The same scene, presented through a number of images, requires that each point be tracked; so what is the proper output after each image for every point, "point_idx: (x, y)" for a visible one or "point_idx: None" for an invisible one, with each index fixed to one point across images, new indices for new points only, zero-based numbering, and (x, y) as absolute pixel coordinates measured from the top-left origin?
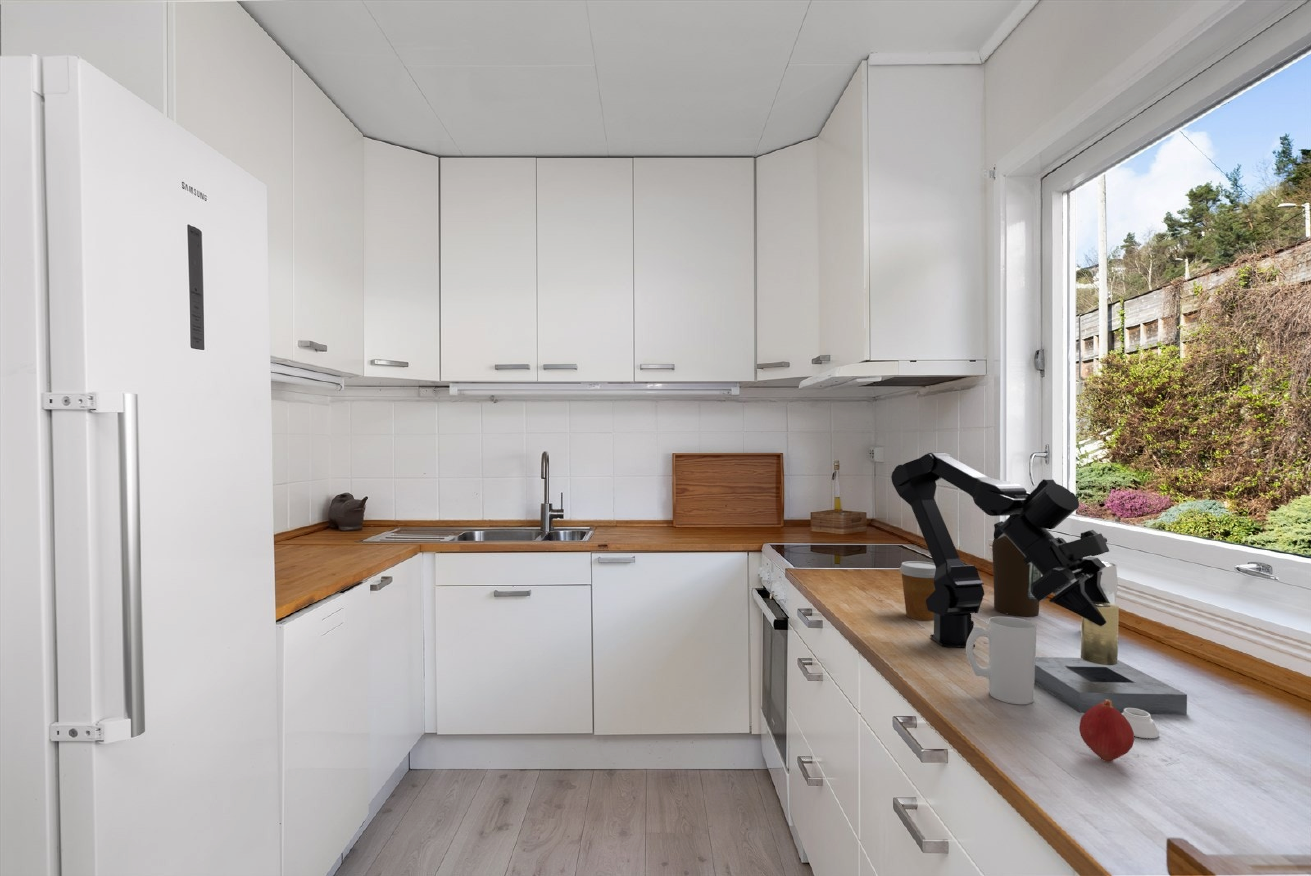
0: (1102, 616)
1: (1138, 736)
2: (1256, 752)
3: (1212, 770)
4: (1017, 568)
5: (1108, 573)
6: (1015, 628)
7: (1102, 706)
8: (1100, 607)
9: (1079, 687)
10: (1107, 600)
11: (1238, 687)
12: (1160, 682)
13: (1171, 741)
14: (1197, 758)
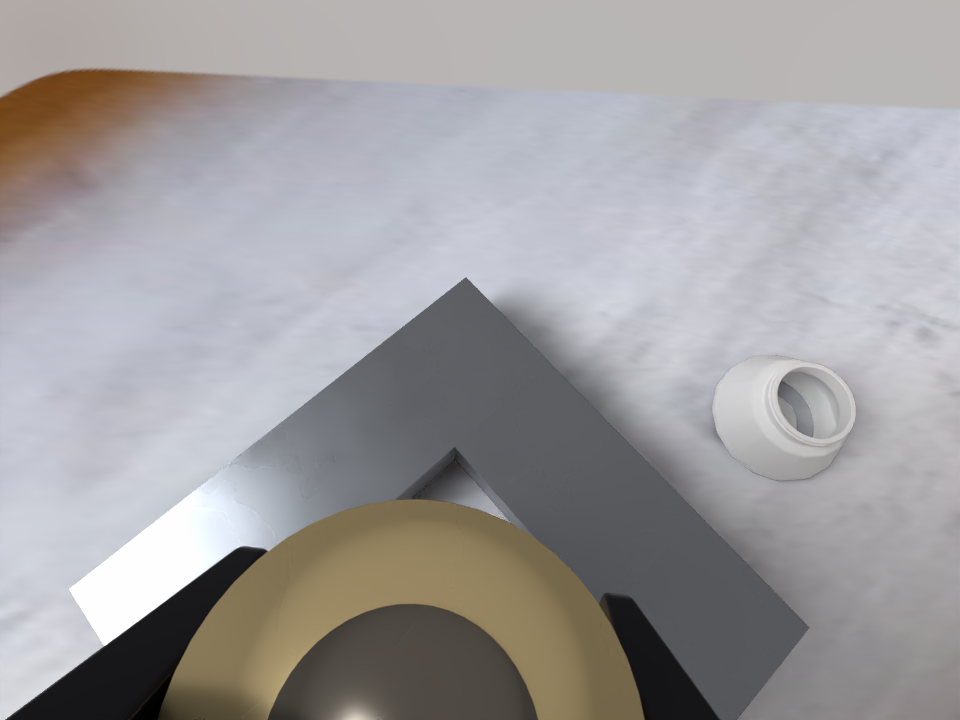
0: (637, 643)
1: (833, 405)
2: (647, 163)
3: (877, 239)
4: None
5: None
6: None
7: None
8: (584, 713)
9: (738, 645)
10: (77, 706)
11: (14, 195)
12: (371, 365)
13: (760, 329)
14: (828, 269)
